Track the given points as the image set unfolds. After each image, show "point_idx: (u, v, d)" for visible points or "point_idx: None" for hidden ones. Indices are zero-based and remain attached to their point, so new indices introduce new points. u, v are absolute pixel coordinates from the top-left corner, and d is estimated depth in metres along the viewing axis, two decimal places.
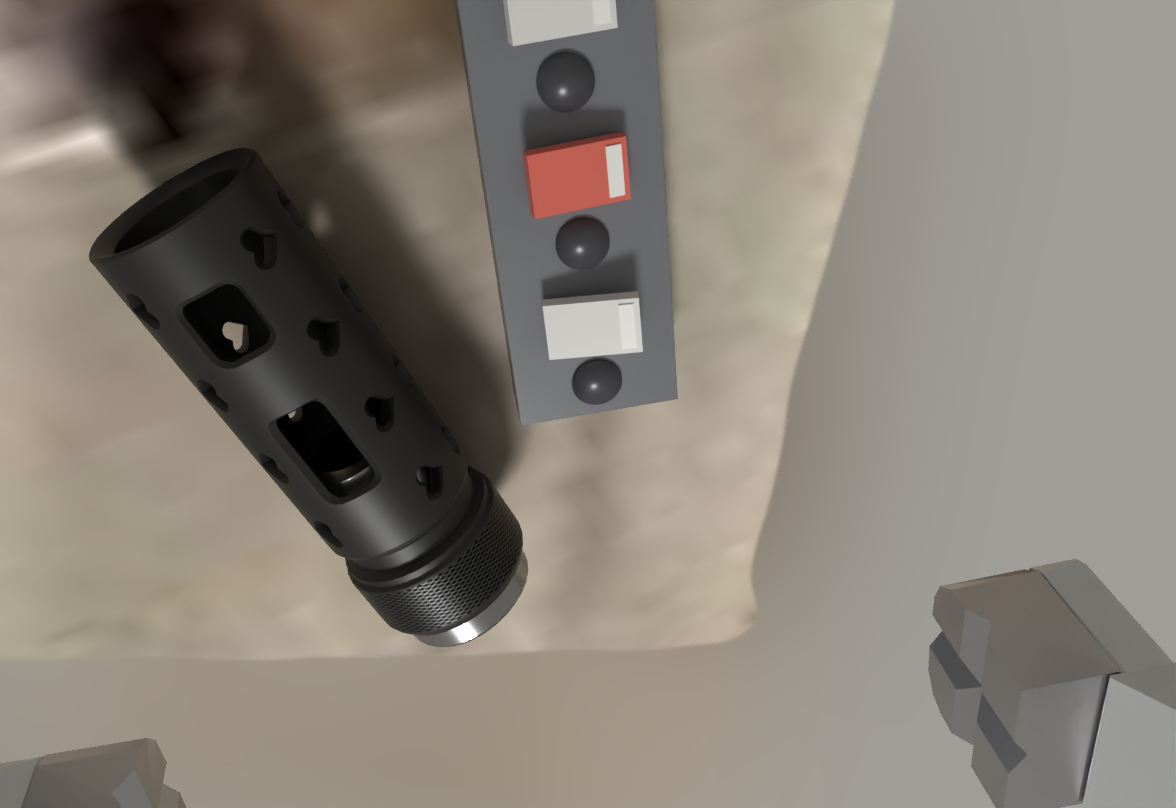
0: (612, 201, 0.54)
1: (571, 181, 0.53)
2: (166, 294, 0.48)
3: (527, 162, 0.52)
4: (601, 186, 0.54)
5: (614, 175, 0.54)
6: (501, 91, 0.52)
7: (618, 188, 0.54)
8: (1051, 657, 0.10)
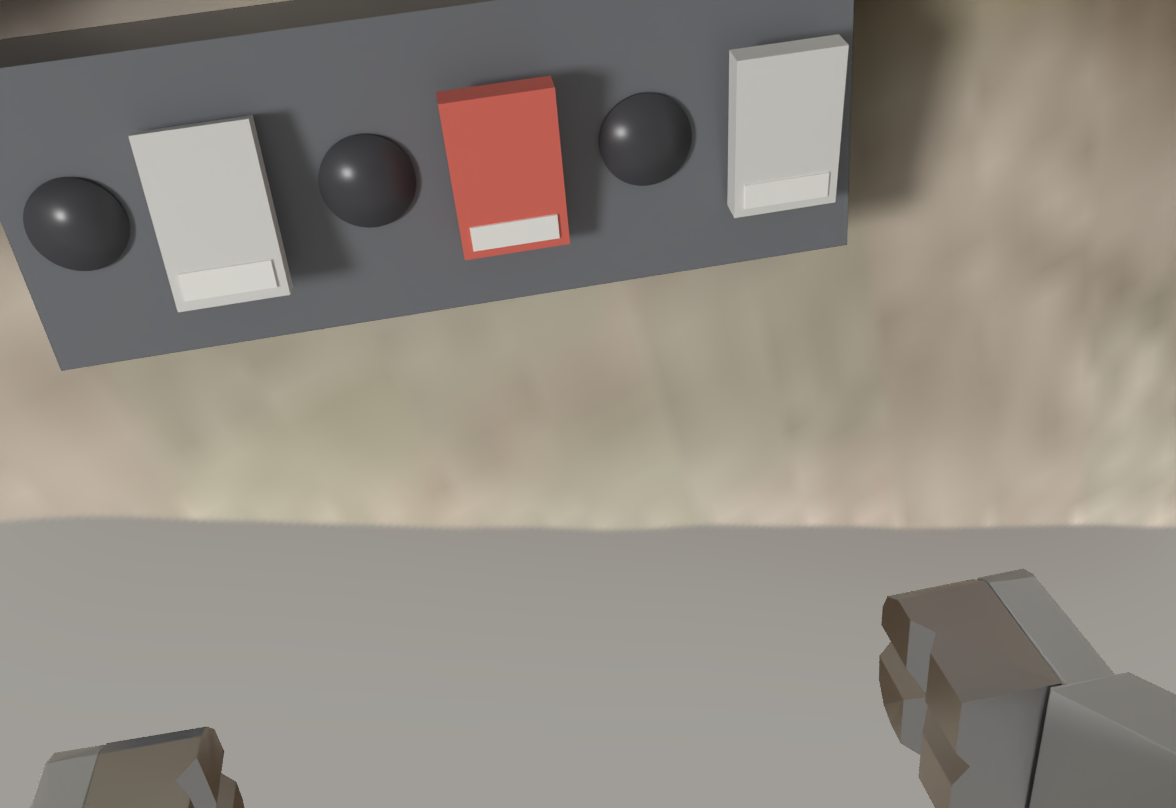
0: (462, 232, 0.32)
1: (502, 163, 0.31)
2: None
3: (541, 88, 0.30)
4: (490, 213, 0.32)
5: (507, 233, 0.32)
6: (636, 33, 0.31)
7: (484, 239, 0.32)
8: (993, 669, 0.10)
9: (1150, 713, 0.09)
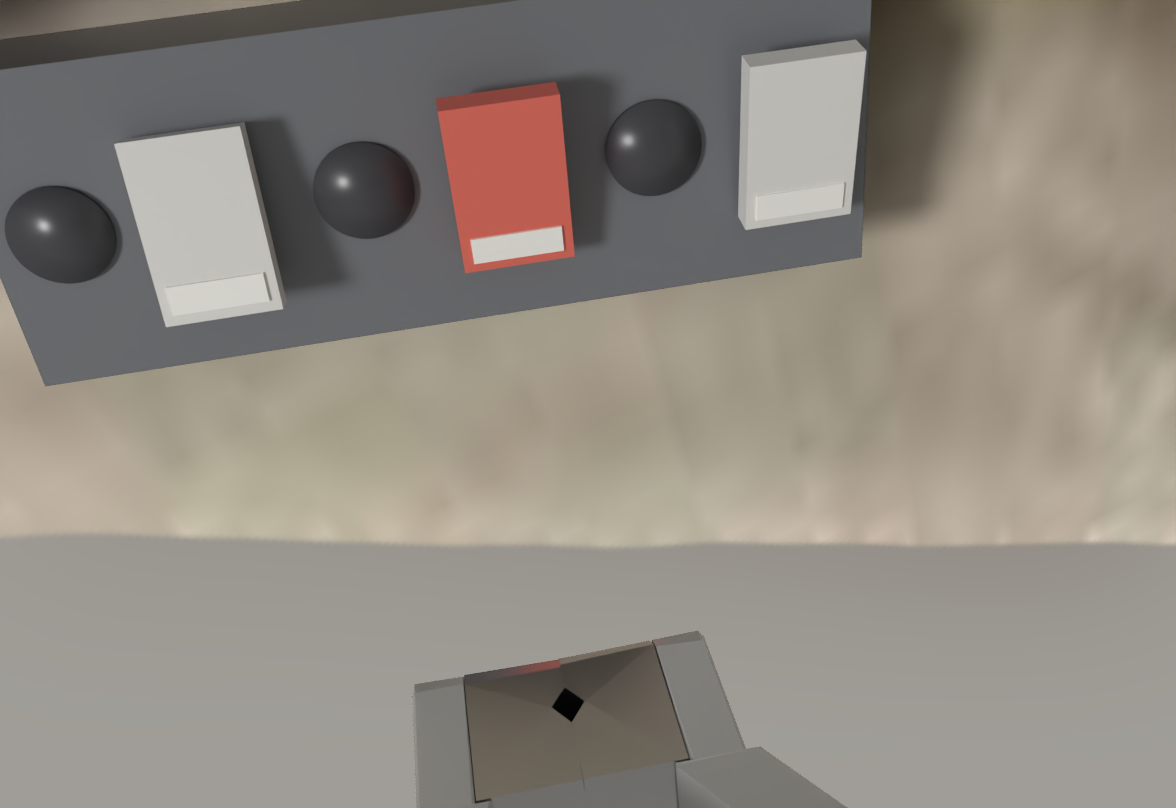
0: (462, 244, 0.31)
1: (504, 172, 0.30)
2: None
3: (546, 94, 0.29)
4: (491, 224, 0.31)
5: (509, 245, 0.31)
6: (645, 38, 0.30)
7: (486, 251, 0.31)
8: (626, 741, 0.10)
9: (763, 792, 0.09)
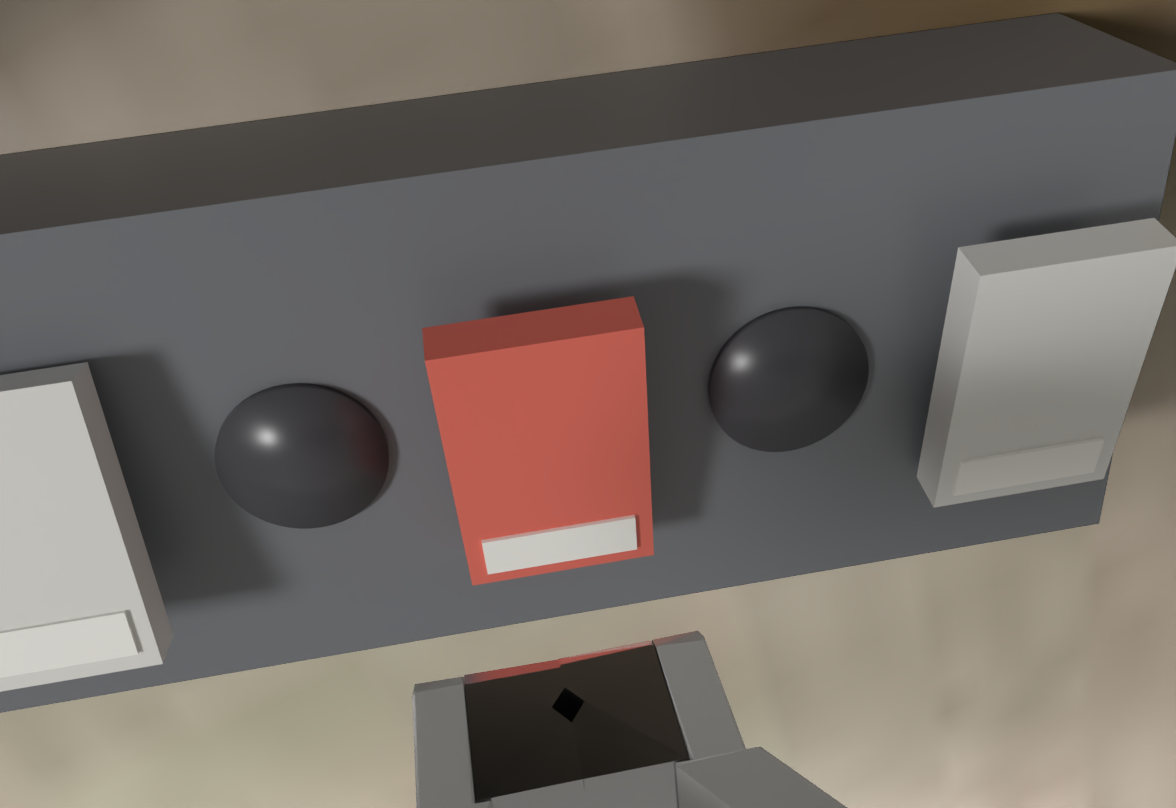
0: (468, 547, 0.18)
1: (542, 446, 0.17)
2: None
3: (618, 327, 0.16)
4: (518, 519, 0.18)
5: (547, 546, 0.19)
6: (786, 212, 0.17)
7: (508, 557, 0.19)
8: (626, 742, 0.10)
9: (763, 792, 0.09)
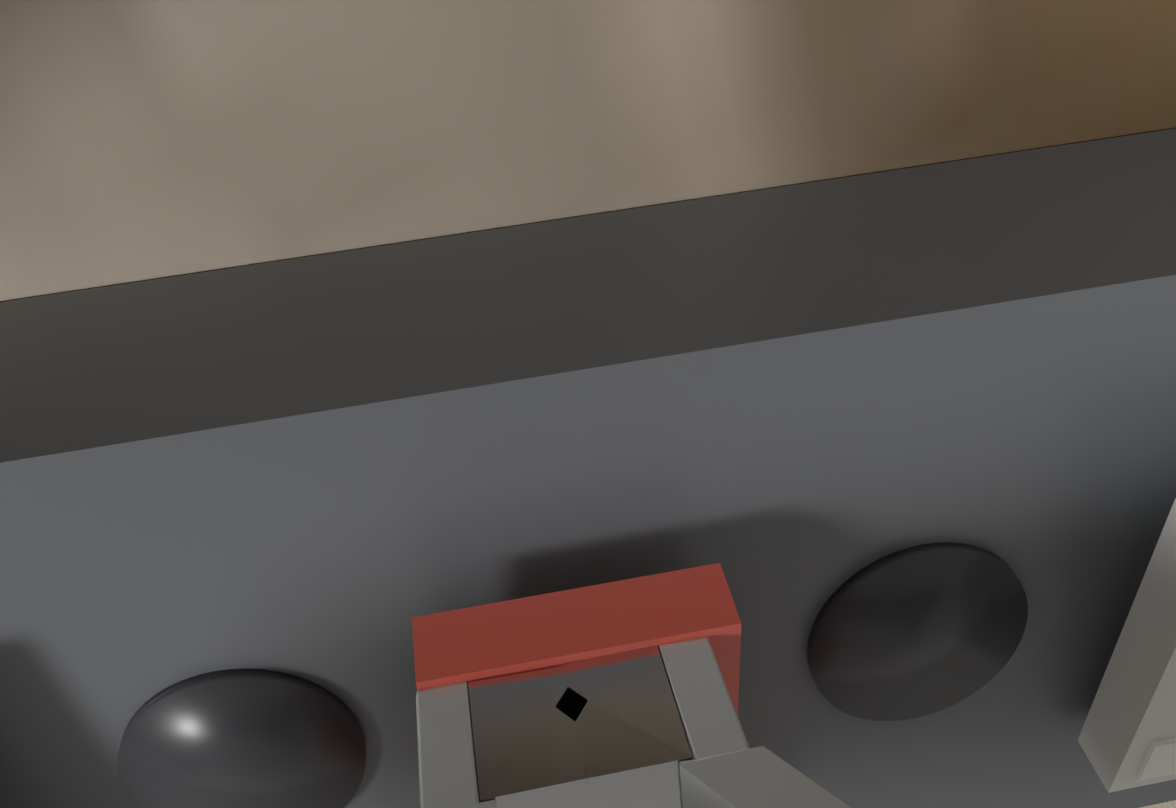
0: None
1: None
2: None
3: (703, 621, 0.11)
4: None
5: None
6: (930, 426, 0.12)
7: None
8: (630, 741, 0.10)
9: (766, 791, 0.09)
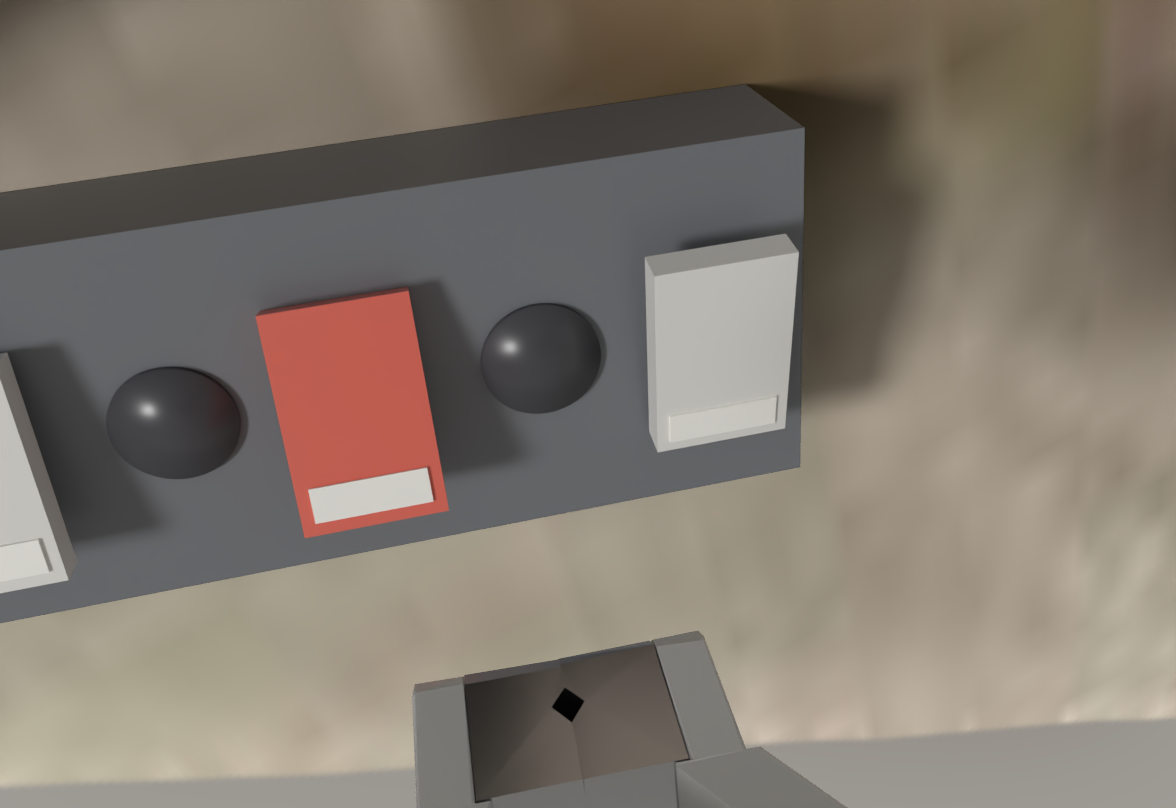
0: (298, 496, 0.24)
1: (346, 396, 0.24)
2: None
3: (392, 293, 0.23)
4: (335, 467, 0.24)
5: (360, 495, 0.24)
6: (524, 234, 0.24)
7: (330, 505, 0.24)
8: (627, 742, 0.10)
9: (763, 792, 0.09)
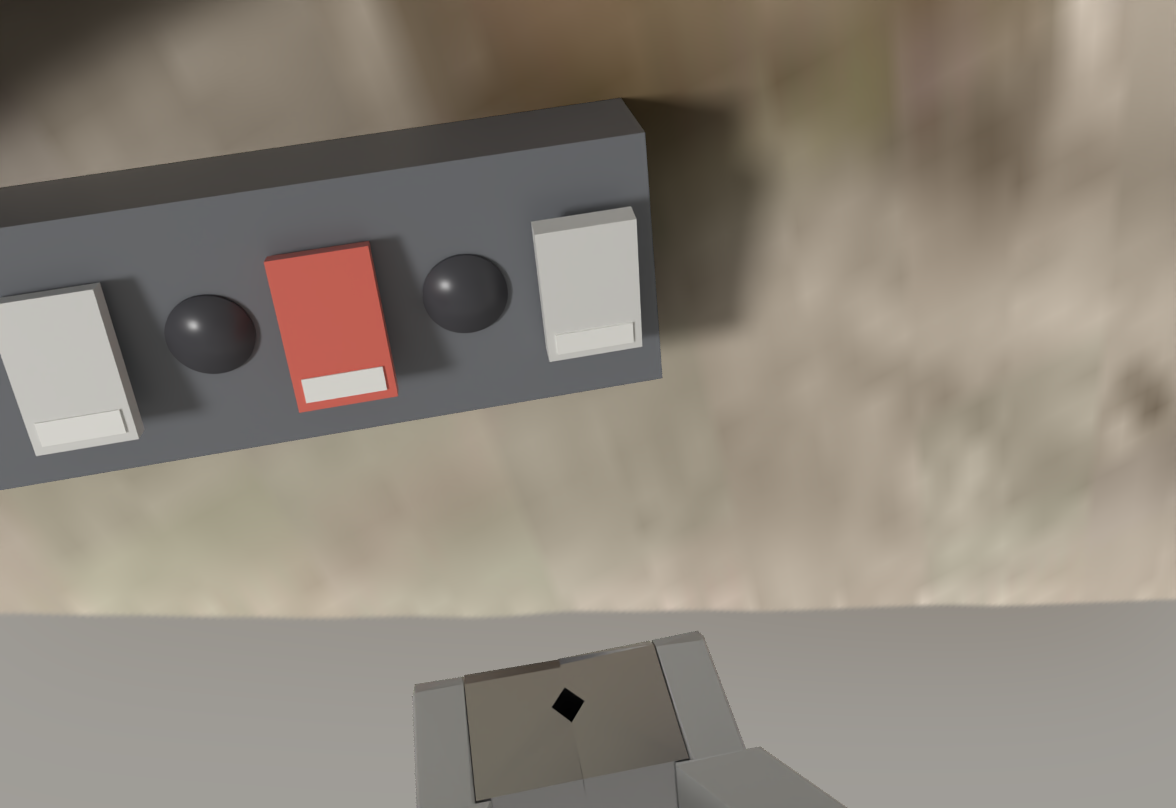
0: (294, 384, 0.35)
1: (326, 316, 0.35)
2: None
3: (356, 247, 0.34)
4: (319, 365, 0.35)
5: (337, 384, 0.35)
6: (449, 205, 0.35)
7: (316, 390, 0.35)
8: (626, 742, 0.10)
9: (763, 791, 0.09)
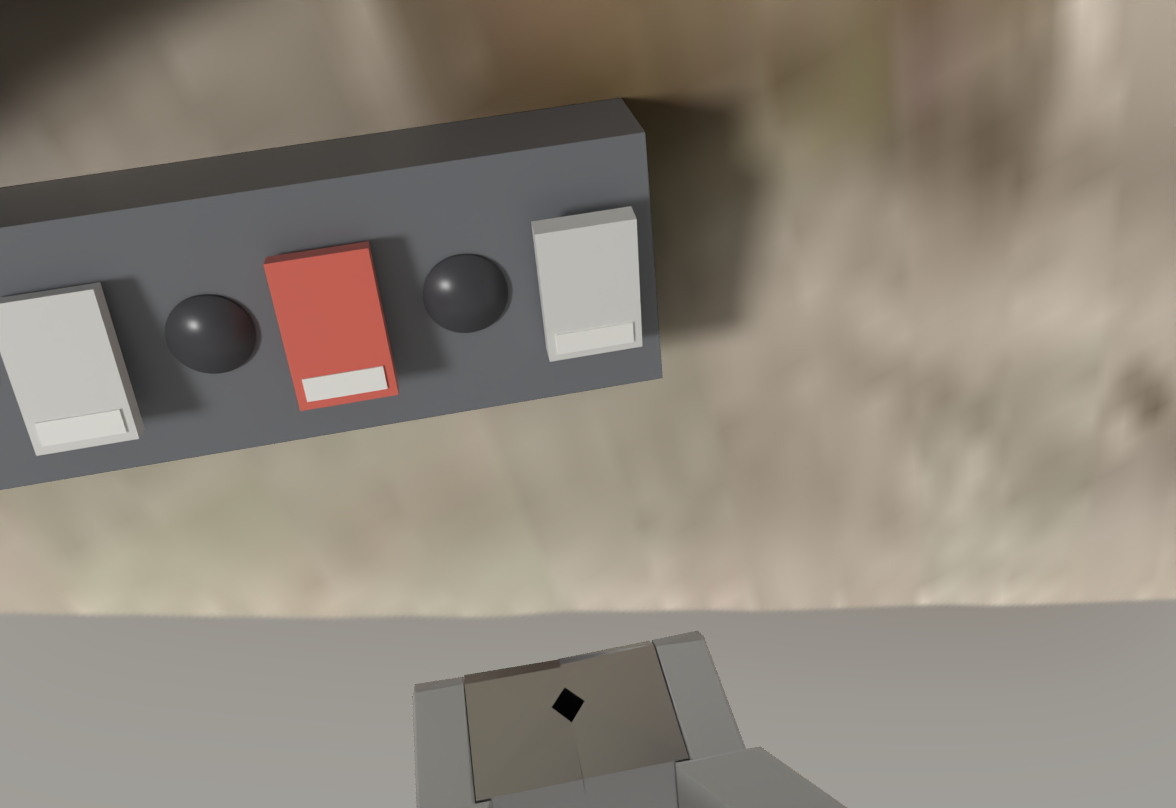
0: (295, 383, 0.35)
1: (327, 318, 0.35)
2: None
3: (356, 249, 0.34)
4: (320, 365, 0.35)
5: (337, 383, 0.35)
6: (449, 205, 0.35)
7: (317, 390, 0.35)
8: (626, 742, 0.10)
9: (763, 792, 0.09)
